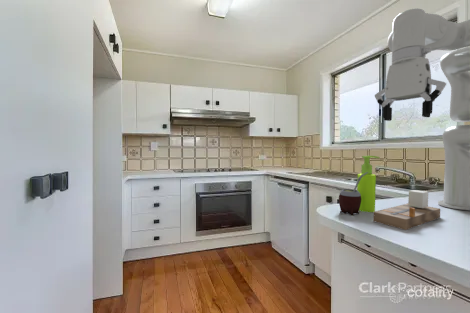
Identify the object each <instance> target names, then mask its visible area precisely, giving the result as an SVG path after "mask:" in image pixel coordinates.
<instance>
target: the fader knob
mask: <svg viewBox="0 0 470 313" xmlns="http://www.w3.org/2000/svg"><path fill="white" fill-rule="evenodd" d="M407 201H408V206H413V207H418V208H425V207H429V191H425V190H418V189H412V190H408V200H407Z"/></svg>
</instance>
